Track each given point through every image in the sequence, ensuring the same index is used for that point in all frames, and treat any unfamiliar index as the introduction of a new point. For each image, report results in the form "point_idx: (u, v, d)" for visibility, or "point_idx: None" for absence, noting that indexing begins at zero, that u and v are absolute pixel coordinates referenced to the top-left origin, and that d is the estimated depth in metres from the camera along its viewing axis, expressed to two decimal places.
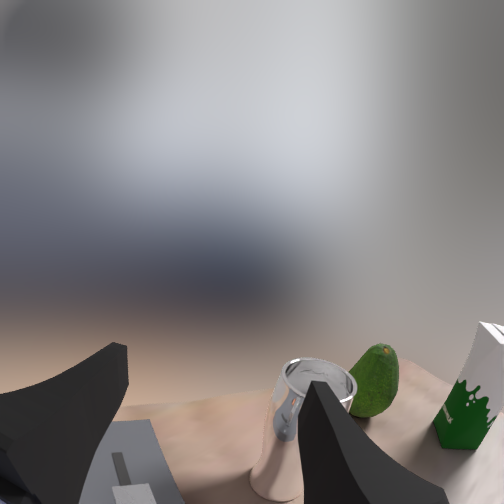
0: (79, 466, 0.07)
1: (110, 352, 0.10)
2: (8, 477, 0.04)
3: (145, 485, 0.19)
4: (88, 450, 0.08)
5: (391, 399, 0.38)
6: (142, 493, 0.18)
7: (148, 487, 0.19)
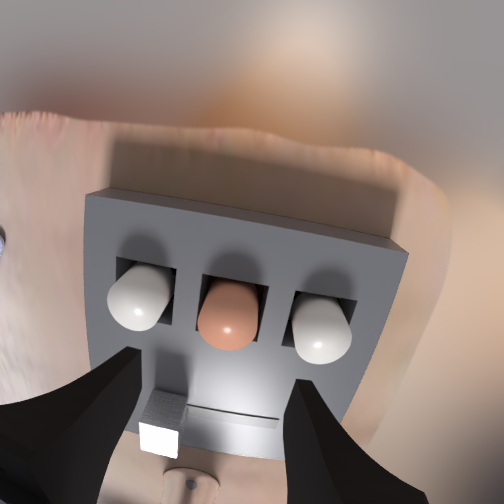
0: (95, 473, 0.07)
1: (125, 356, 0.10)
2: (27, 488, 0.04)
3: (173, 455, 0.17)
4: (104, 456, 0.08)
5: None
6: (162, 448, 0.17)
7: (170, 455, 0.17)
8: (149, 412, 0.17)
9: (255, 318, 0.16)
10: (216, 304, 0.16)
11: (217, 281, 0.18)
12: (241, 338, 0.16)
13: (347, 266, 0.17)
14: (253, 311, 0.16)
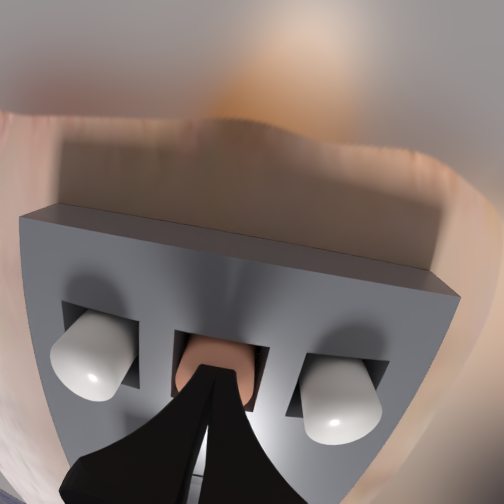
0: (186, 498, 0.07)
1: (207, 375, 0.10)
2: None
3: None
4: (190, 479, 0.08)
5: None
6: None
7: None
8: None
9: (250, 378, 0.11)
10: (198, 360, 0.11)
11: None
12: None
13: (380, 319, 0.11)
14: (248, 369, 0.12)
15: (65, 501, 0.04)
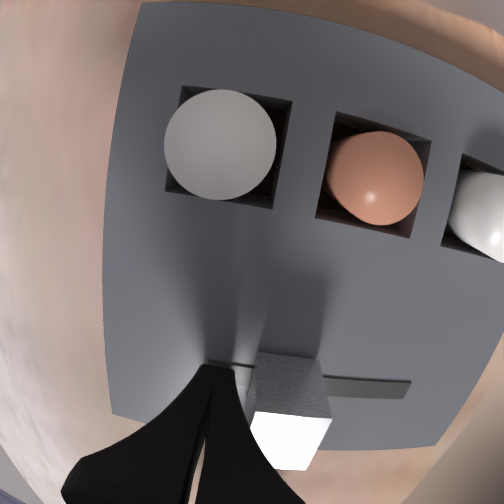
0: (187, 499, 0.07)
1: (208, 376, 0.10)
2: None
3: (302, 466, 0.10)
4: (191, 480, 0.08)
5: None
6: (285, 457, 0.09)
7: (294, 468, 0.10)
8: (268, 391, 0.10)
9: (421, 168, 0.09)
10: (370, 138, 0.09)
11: (340, 139, 0.12)
12: (400, 202, 0.10)
13: None
14: None
15: (67, 502, 0.04)
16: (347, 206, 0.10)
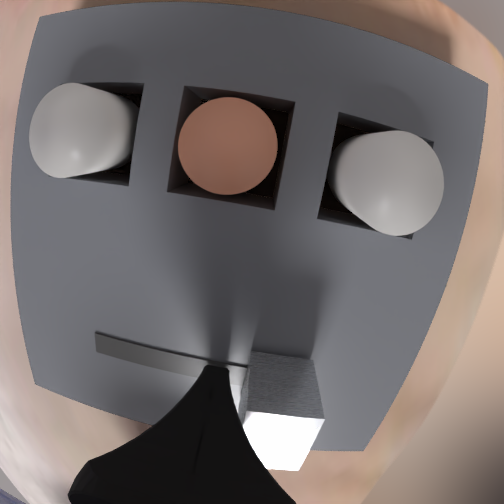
0: None
1: (213, 377, 0.10)
2: None
3: (295, 466, 0.10)
4: None
5: None
6: (277, 457, 0.09)
7: (288, 468, 0.10)
8: (260, 390, 0.10)
9: (274, 130, 0.09)
10: (210, 106, 0.09)
11: None
12: (250, 169, 0.10)
13: (412, 82, 0.09)
14: (270, 121, 0.09)
15: None
16: (190, 177, 0.10)
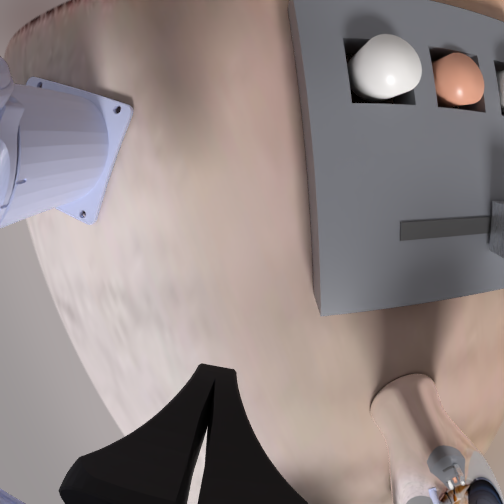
0: (186, 498, 0.07)
1: (207, 375, 0.10)
2: None
3: None
4: (190, 479, 0.08)
5: None
6: None
7: None
8: None
9: (479, 69, 0.12)
10: (451, 57, 0.12)
11: None
12: (476, 89, 0.13)
13: None
14: None
15: (65, 501, 0.04)
16: (453, 95, 0.13)
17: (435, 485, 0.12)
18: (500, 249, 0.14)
